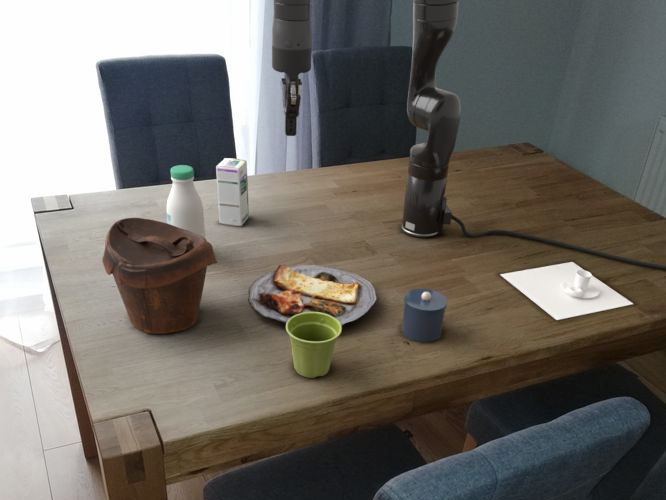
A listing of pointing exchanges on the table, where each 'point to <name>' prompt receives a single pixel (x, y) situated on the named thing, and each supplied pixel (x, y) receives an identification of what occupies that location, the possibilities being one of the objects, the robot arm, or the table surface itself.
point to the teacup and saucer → (565, 290)
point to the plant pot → (313, 342)
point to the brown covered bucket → (158, 272)
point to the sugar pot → (423, 314)
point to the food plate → (311, 293)
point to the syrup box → (232, 191)
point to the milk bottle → (185, 202)
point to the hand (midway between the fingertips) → (290, 134)
